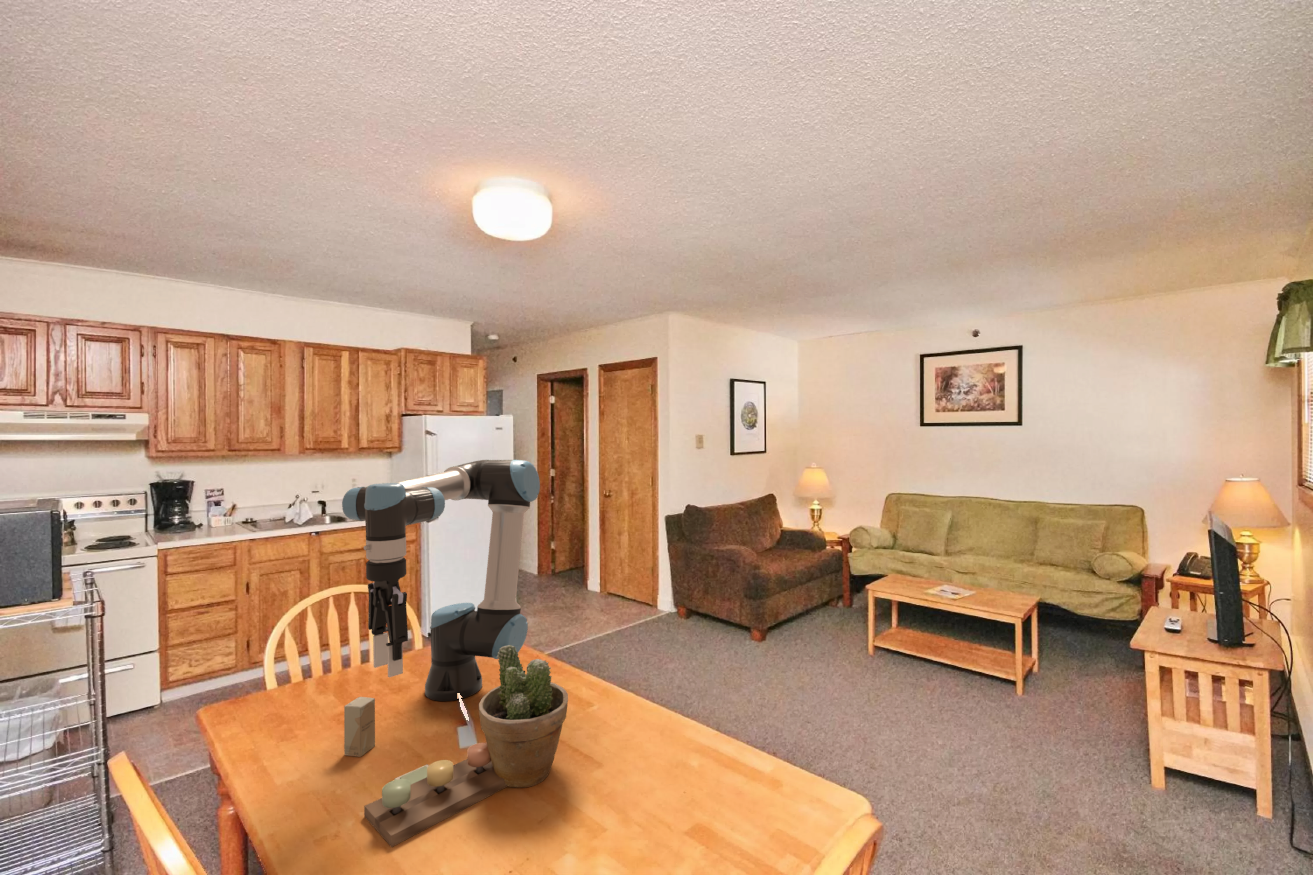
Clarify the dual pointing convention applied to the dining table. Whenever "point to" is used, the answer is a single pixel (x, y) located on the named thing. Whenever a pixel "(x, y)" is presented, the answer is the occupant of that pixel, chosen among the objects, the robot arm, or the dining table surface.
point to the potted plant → (523, 720)
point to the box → (359, 726)
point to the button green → (396, 794)
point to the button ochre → (440, 774)
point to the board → (433, 802)
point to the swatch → (415, 774)
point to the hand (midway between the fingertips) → (388, 669)
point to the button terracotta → (478, 756)
